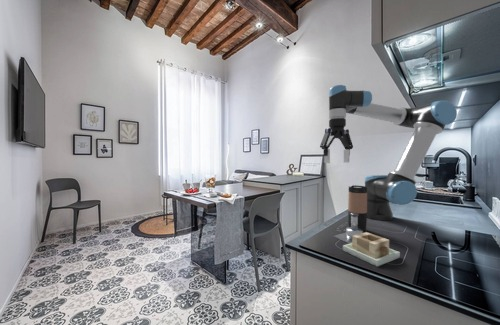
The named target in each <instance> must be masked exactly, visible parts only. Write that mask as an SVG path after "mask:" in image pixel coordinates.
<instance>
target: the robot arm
mask: <svg viewBox="0 0 500 325" xmlns="http://www.w3.org/2000/svg"><path fill="white" fill-rule="evenodd" d="M372 101H373V93H372V92H371V91H370V90H347V87H346V85H343V84H336V85H333V86H332V87H330V89H329V92H328V103H329V104H328V106H329V107H328V108H329V109H328V111H329V112H328V115H329V116H328V118H329V119H328V127H327V128H325V130H324V134H323V137H322V140H321V143H320V145H319V148H320V149H321V150H323V163H324V164H330V163H331V158H330V157H331V149H329V148H330V147H331V145H332V144H333V142H334V140H335V139H338V140H339V141H340V143H341V144H342V146H343V148H344V149H343V163H347V164H348V163H350V155H351V154H350V153H351V150H352V149H353V148H354V145H353V142H352V138H351V136H350V131H349V129H348V128H347V129H345V127H346V125H347V119H346V117H347V114H351V115H355V116H361V117H365V118H369V119H375V120H379V121H385V122H389V123H392V124H393V125H395V126H400V127H403V128H410V129H414V131H413V133H412V135H411V137H410V139H409V141H408V143H407V145H406V147H405V148H404V151H403V153H402V154H401V156H400V158H399V161H398V163H397V164H396V166H395V167H394V170H393V171H392V170H391V171H389V172H388V174H387V175H386V174H381V175H379V174H377V175H376V174H375V175H366V176H365V179H364V186H365V187H367V217H368V218H367V219H371V218H372V220H379V221H391V220H392V219H393V218H394V214H393V212H392V208H391V206H390V203H392V204H394V205H400V206H405V205H409V204H410V203H412V202H413V201H414V200H415V199H416V197H417V194H418V190H417V186H416V183H417V181H416V179H415V176H416V174H417V173H418V171H419V169H420V167H421V165H422V164H423V161H424V159H425V157H426V155H427V153H428V151H429V150H430V147H431V146H432V144H433V141H434V139H435V137H436V135H438V134H440V133H442V132H443V131H444V129H445V127H446V126H448V125H450V124H452V123H454V122H455V121H456V119H457V117H458V112H457V108H456V106H455V105H454V104H453V103H452V102H451V101H449V100H437V101H436V100H435V101H433V102H431V103H428V104H423V105H419V106H415V107H411V108H410V107H409V108H407V107H399V108H397V107H391V106H387V105H382V104H377V103H373V102H372Z"/></svg>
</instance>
